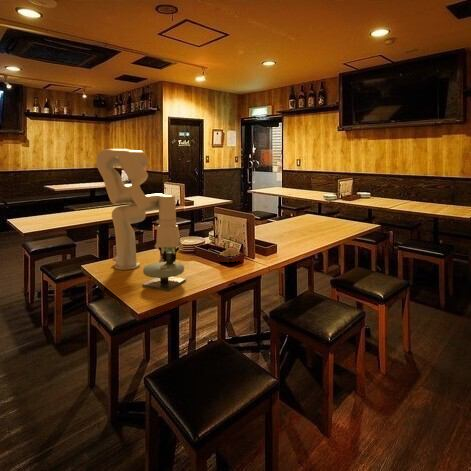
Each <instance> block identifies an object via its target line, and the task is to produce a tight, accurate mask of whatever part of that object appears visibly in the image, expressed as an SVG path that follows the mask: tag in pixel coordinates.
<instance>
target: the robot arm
mask: <svg viewBox="0 0 471 471" xmlns="http://www.w3.org/2000/svg"><path fill="white" fill-rule="evenodd" d="M95 159H96V160H95V162H96V163H95V164H96V167H97V170H98V172H99V174H100V176H101V177H102V179H103V183H104V186H105V189H106V192H107V195H108V198H109V200H110V203H111V204H112V205H121V206H117V207H115V208H114V209H113V210H112V212H111V220H112V222H113V227H114V235H115V244H116V245H115V246H116V256H114V257H113V258H112V262H115V264H114V269H116V270H120V271H128V270H135V269H137V268H139V267H140V266H141V262H140V261H137V260H138V259H137V247H136V233H135V230H134V228H133V227H132V224H137V223H140V222H143V221H145V219H146V217H147V216H146V215H147V213H146V212H152V211H158V219H156V223H157V224H158V225H157V228H156V242H155V245H154V248H155V249H157V250H158V251H159V252H160V251H161V253H162V255H163V258H162V260H163V262H166V253H167V252H166V248H172V251H173V252H172V262H175V261H176V260H177V252H178V251H180V250H182V249H183V248H184V245H183V244H182V242H181V236H180V231H179V225H178V224H177V213H176V212H177V211H176V198H175V195H172V194H163V193H151V194H145V193H144V191H143V190H142V188H141V185H142V184H144V183H145V182H146V181H147V179H148V177H149V174H148V171H147V170H146V169H145V168H146V166H147V165H148V163H149V158H148V156H147V154H146V153H145V152H144V151H143V150H137V149H130V148H105V149H102V150H99V152H97V154H96V158H95ZM114 167H121V168H122V170H123V171H124V173H125V174H126V176H127V177H128V179H129V180H130V182H131V183H128V184H127V183H126V184H124V182H123V180H122V176H121V175H120V173H119V172H118V170H116V169H115V168H114ZM123 204H124V205H123ZM125 204H127V205H125Z"/></svg>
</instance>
